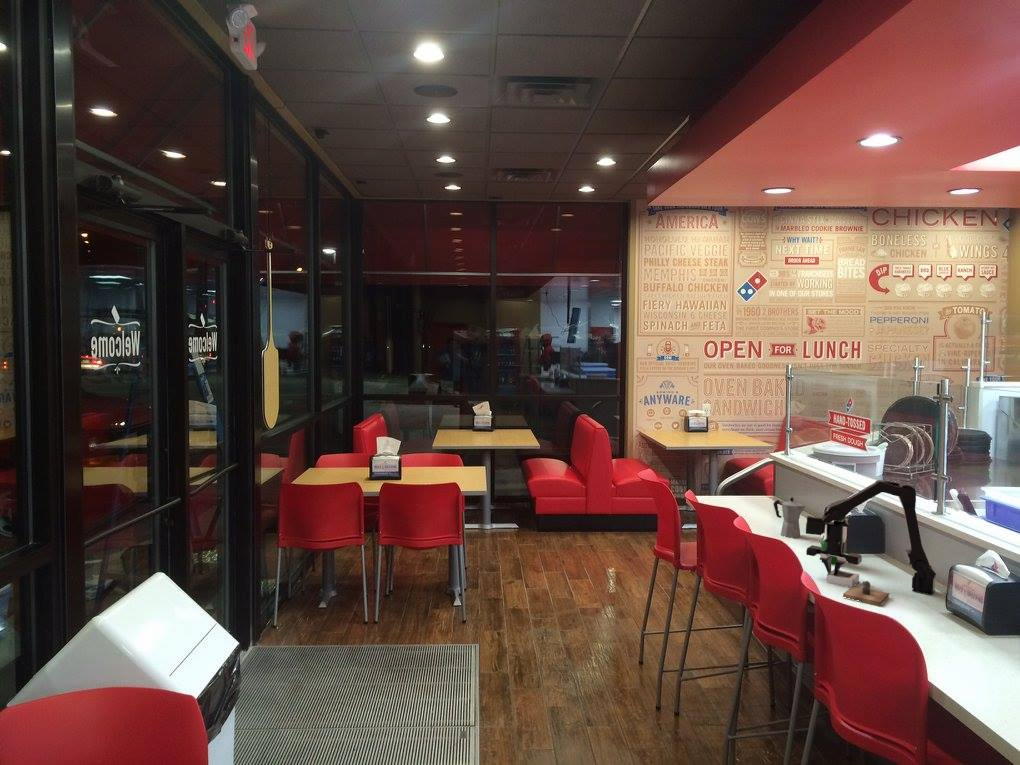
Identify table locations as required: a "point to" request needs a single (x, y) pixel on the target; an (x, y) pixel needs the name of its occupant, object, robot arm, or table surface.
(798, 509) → the coffeepot
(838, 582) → the white square frame
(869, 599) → the board
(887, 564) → the table surface
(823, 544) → the milk carton
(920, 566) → the robot arm
